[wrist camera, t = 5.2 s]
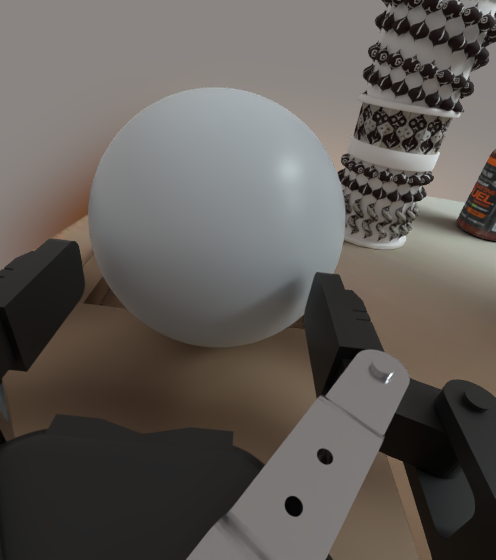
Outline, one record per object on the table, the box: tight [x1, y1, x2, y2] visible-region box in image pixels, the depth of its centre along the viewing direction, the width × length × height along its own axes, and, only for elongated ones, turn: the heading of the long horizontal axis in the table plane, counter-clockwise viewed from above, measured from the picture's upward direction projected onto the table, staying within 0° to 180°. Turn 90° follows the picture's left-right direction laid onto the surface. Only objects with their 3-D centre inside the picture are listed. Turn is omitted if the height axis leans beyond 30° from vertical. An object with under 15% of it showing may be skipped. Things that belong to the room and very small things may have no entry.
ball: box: [88, 88, 345, 348], centre depth 15 cm, size 11×11×11 cm
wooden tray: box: [3, 254, 420, 560], centre depth 19 cm, size 28×16×2 cm, turn 178°
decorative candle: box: [338, 0, 496, 250], centre depth 29 cm, size 9×9×25 cm
